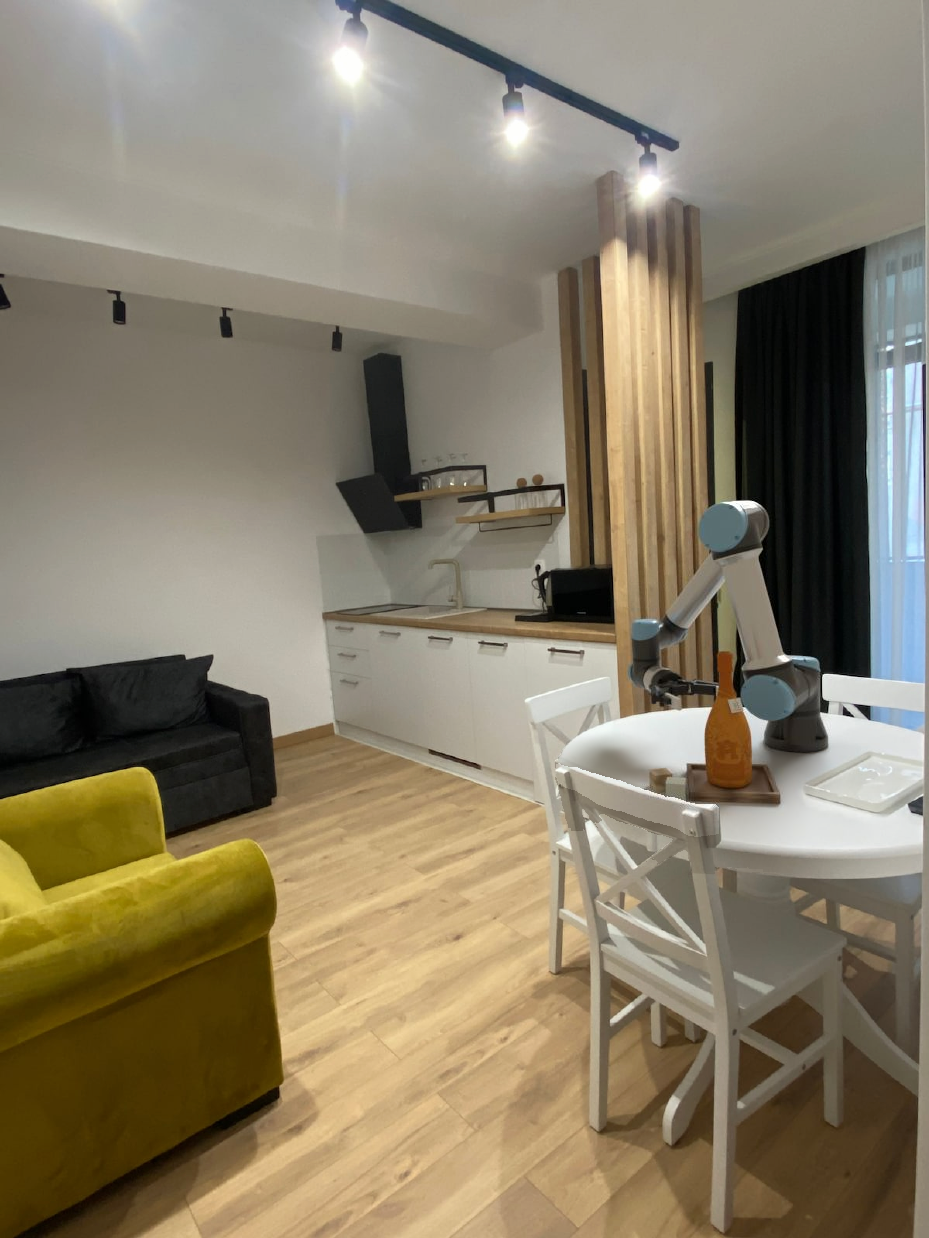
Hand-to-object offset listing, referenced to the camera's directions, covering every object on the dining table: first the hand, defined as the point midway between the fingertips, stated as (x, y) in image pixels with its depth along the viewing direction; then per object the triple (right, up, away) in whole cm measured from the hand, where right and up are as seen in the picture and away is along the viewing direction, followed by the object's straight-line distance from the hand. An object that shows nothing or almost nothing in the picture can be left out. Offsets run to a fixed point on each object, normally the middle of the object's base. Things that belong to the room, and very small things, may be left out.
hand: (706, 701), depth 162 cm
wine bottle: (+3, -18, -7) cm, 19 cm away
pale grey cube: (-10, -20, -10) cm, 25 cm away
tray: (+3, -18, -7) cm, 20 cm away
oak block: (-12, -19, -4) cm, 23 cm away
